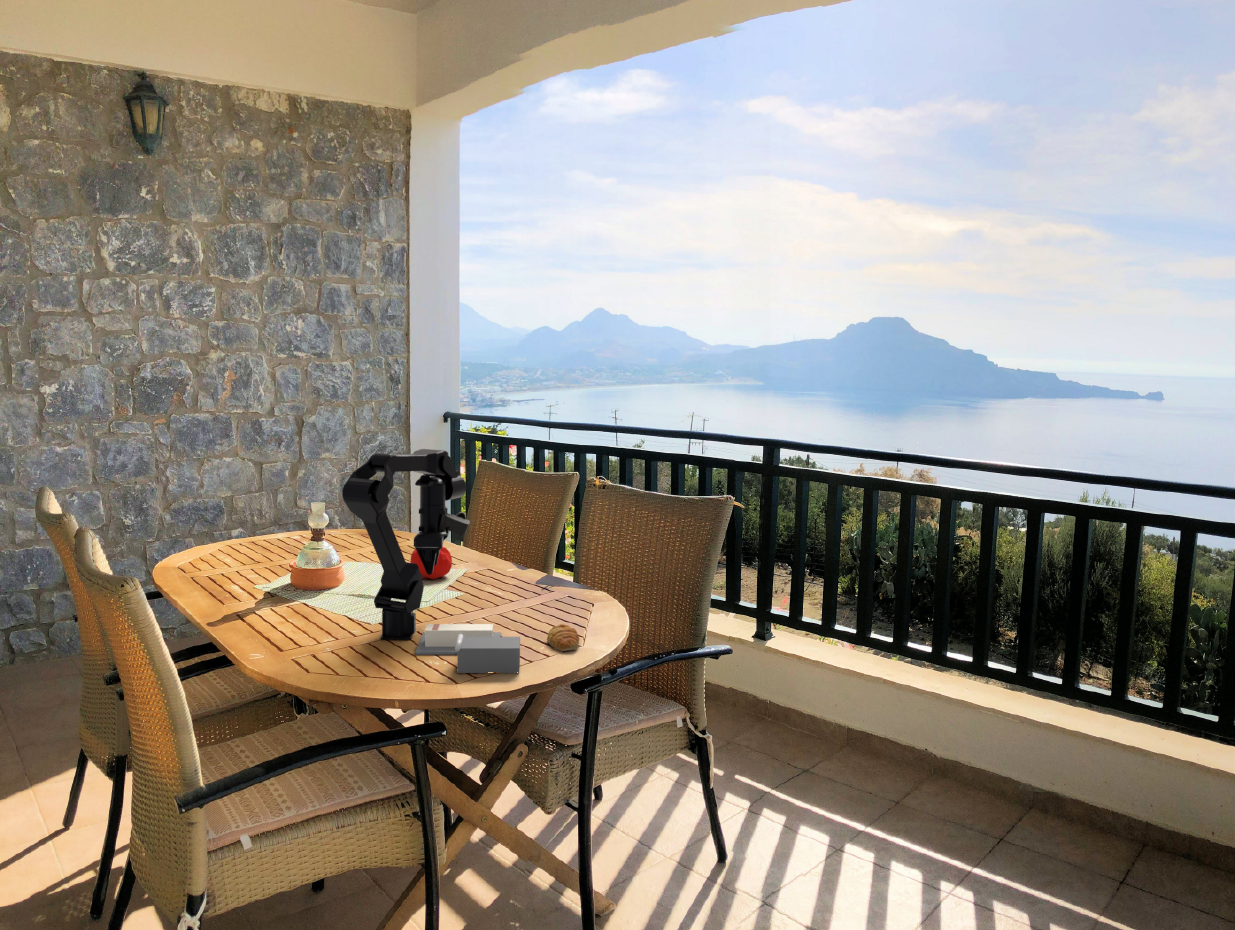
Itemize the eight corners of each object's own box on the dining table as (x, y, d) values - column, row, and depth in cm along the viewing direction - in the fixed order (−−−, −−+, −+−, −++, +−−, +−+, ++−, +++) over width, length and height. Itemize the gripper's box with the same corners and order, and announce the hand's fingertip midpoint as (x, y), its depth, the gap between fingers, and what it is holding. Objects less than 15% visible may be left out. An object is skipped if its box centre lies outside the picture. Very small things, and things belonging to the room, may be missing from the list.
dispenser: (454, 673, 167) (454, 646, 166) (458, 660, 174) (458, 633, 173) (519, 673, 168) (519, 646, 167) (519, 660, 175) (520, 633, 175)
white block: (424, 646, 180) (425, 630, 180) (427, 639, 185) (427, 623, 184) (492, 646, 182) (492, 630, 181) (492, 639, 186) (493, 623, 186)
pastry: (584, 652, 182) (585, 635, 182) (553, 654, 180) (553, 637, 180) (574, 638, 191) (574, 622, 191) (544, 640, 189) (545, 624, 189)
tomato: (444, 583, 235) (444, 550, 234) (402, 580, 237) (403, 547, 236) (457, 574, 245) (458, 543, 244) (417, 571, 247) (417, 540, 246)
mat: (415, 654, 177) (415, 651, 177) (423, 634, 190) (423, 632, 190) (498, 654, 179) (498, 651, 178) (500, 635, 191) (500, 632, 191)
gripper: (464, 510, 190) (463, 579, 191) (470, 498, 208) (469, 561, 210) (413, 510, 188) (413, 579, 190) (424, 497, 207) (423, 560, 209)
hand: (432, 569), depth 200 cm, fingers open, 9 cm apart
